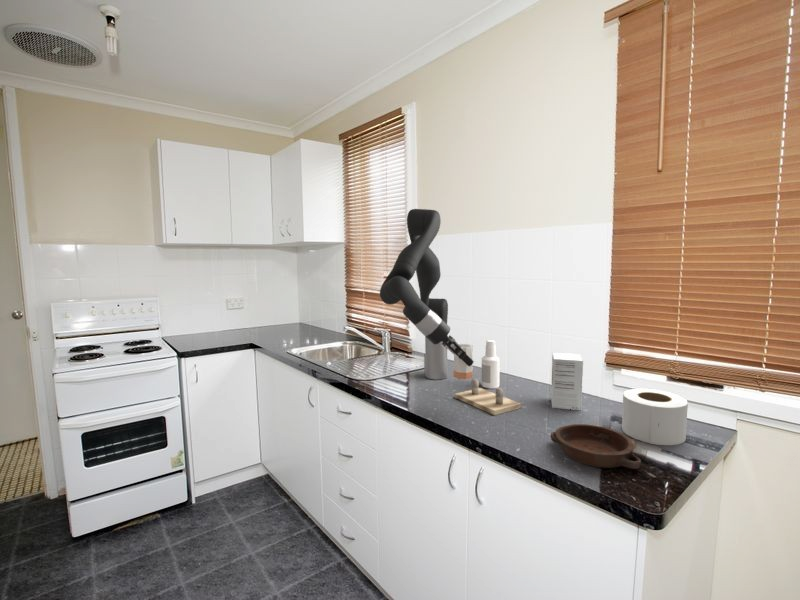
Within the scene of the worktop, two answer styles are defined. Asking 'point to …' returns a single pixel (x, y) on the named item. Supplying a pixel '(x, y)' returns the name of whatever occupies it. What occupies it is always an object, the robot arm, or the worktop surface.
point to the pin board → (487, 399)
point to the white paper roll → (654, 416)
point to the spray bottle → (490, 366)
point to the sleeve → (463, 363)
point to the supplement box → (566, 381)
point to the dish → (596, 446)
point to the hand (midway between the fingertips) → (468, 361)
